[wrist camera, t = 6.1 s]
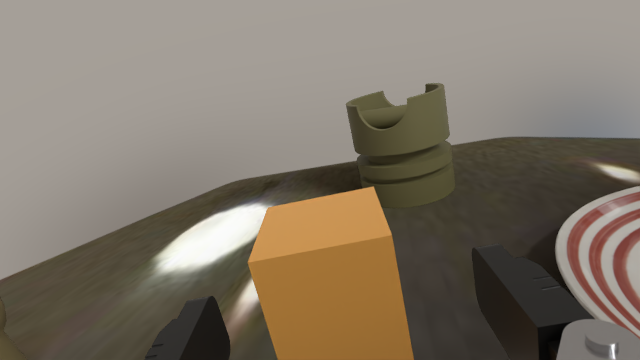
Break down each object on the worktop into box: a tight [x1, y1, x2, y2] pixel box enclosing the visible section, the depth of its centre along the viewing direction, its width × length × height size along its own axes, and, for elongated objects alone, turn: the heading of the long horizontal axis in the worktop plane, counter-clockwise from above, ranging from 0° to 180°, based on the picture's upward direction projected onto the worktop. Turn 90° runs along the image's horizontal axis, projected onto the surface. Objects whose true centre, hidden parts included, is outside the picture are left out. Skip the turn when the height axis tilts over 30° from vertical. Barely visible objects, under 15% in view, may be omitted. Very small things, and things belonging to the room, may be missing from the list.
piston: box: [346, 83, 455, 208], centre depth 47 cm, size 11×12×11 cm
